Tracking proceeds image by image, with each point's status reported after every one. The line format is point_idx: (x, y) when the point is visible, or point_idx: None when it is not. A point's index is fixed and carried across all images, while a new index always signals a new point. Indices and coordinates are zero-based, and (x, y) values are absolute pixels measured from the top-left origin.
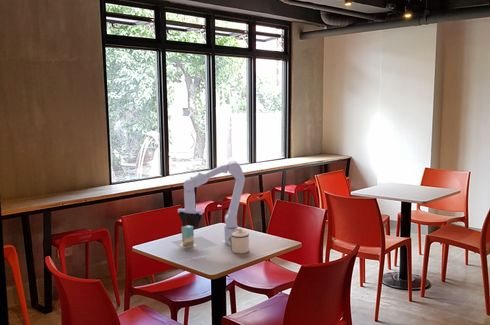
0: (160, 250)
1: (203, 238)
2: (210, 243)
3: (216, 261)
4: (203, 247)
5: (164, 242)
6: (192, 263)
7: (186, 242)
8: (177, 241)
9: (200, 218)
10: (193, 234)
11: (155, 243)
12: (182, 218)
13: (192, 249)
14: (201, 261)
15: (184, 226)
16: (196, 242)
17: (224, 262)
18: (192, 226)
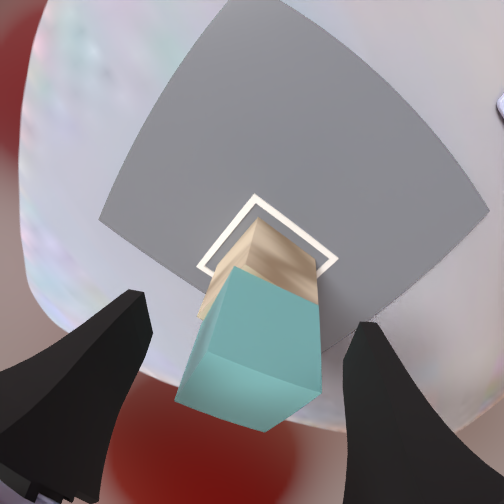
0: (154, 345)
1: (312, 37)
2: (437, 184)
3: (466, 390)
4: (404, 286)
5: (65, 219)
6: None
7: None
8: (128, 199)
9: (450, 436)
10: (317, 319)
11: (46, 250)
12: (105, 445)
13: (340, 332)
14: None
15: (197, 393)
16: (303, 179)
17: (489, 386)
18: (304, 389)
